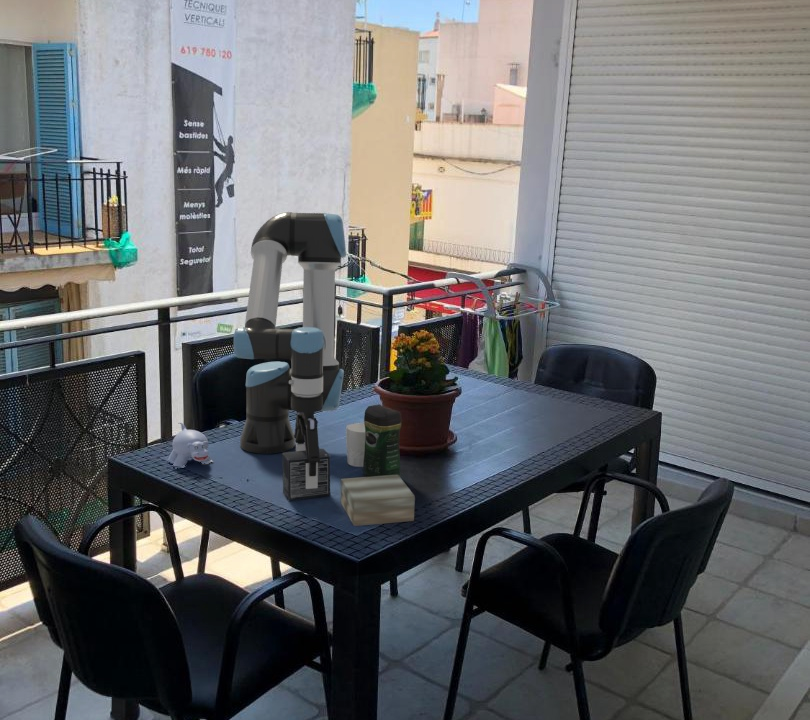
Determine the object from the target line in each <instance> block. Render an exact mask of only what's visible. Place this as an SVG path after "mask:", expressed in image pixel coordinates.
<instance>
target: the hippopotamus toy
mask: <svg viewBox="0 0 810 720" xmlns="http://www.w3.org/2000/svg"><path fill="white" fill-rule="evenodd" d="M178 424H180V427H181V431H179V432H177V434H175V436H174V437H173V439H172V451H171V452H170V453H169V456H168V458H167V460H169V461H175V462H174V464H173V465H174V466H183V465H186V466H187V463H188V461H189V459H191V458H192V459H193V461H196V462H199V463H200V462H202V463H204V462H206V463H208V462H209V463H210V462H214V460H212V458H211V456H210V455H209V450H208V449H209V446H210V445H209V444H210V443H209V440H208V438H207V437H206V435H205V434H203V433H202V432H200V431H198V430H195V429H187V427H186V425H185V424H184V423H182V422H178ZM210 464H211V463H210ZM173 465H172V466H173Z"/></svg>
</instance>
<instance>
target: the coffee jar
mask: <svg viewBox="0 0 810 720" xmlns="http://www.w3.org/2000/svg"><path fill="white" fill-rule="evenodd" d="M363 423H364V424H365V452H364V463H363V467H362V472H363V475H364V476H365V477H373V476H386V475H399V477H401V459H400V456H401V455H400V454H401V453H400V433H401V432H400V431H401V427H402V413H401V412H400V411H398V410H396V409H392V408H390V407H387V406H384V405H381V404H373V405H368V406H367V407H366V409H365V410H364V417H363Z"/></svg>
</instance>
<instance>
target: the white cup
mask: <svg viewBox="0 0 810 720" xmlns="http://www.w3.org/2000/svg"><path fill="white" fill-rule="evenodd" d="M345 438H346V439H345V442H346V454H347V458H346V459H347V460H346V461H347V464H348V465H350V466H351V467H356V468H363V463H364V452H365V424H364V422H355V423H350V424H347V425H346V426H345Z"/></svg>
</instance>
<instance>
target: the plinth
mask: <svg viewBox="0 0 810 720" xmlns="http://www.w3.org/2000/svg"><path fill="white" fill-rule="evenodd" d="M340 482H341V483H340V504H341V505H342V508H343V509H344V511H345V512H346V514H347V516H348V517H349V520H350V521H351V523H352V526H354V527H358V526H359V527H361V526H368V525H380V524H381V525H383V524H392V523H393V524H395V523H402V522H403V523H404V522H414V521H415V504H416V503H415V501H416V497H415V494H414V493H413V492H412V491H411V489H410V488H409V487H408V486H407V484H406V483H405V481H404V480H403V479H402V478H401V476H399V475H386V476H373V477H367V476H360V477H350V478H349V477H347V478H341V479H340Z"/></svg>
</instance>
